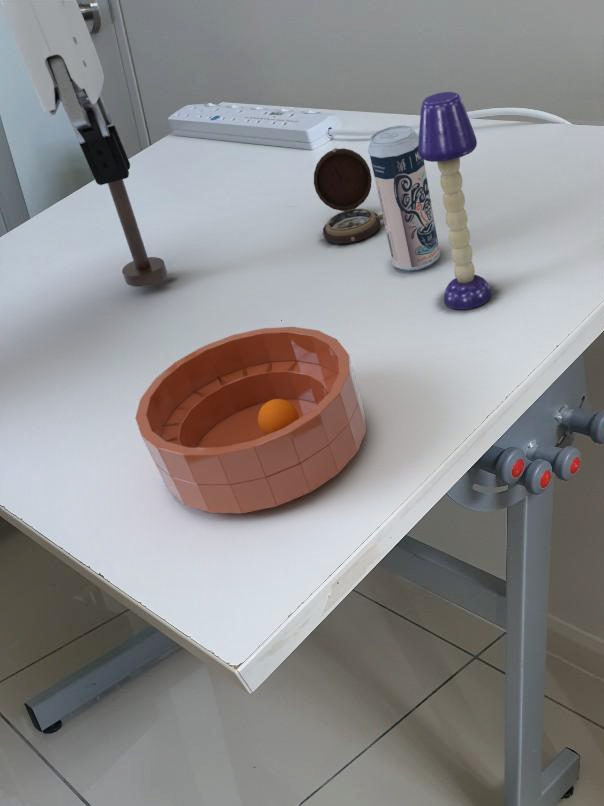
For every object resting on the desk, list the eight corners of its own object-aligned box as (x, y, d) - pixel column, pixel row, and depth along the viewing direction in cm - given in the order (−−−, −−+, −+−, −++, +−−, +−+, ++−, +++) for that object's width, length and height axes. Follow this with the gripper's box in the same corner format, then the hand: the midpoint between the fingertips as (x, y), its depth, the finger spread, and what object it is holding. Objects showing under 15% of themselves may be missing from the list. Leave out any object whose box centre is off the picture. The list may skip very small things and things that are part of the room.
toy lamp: (443, 288, 79) (409, 94, 68) (494, 279, 79) (468, 81, 68) (445, 314, 76) (409, 114, 65) (498, 305, 75) (471, 101, 64)
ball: (298, 444, 64) (257, 442, 63) (296, 436, 67) (256, 433, 66) (301, 404, 63) (259, 401, 63) (298, 397, 66) (258, 394, 65)
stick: (122, 289, 90) (64, 125, 79) (129, 270, 93) (75, 110, 82) (164, 283, 90) (112, 119, 79) (170, 265, 93) (121, 104, 82)
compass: (325, 251, 90) (306, 181, 85) (324, 220, 96) (306, 153, 91) (401, 234, 89) (386, 162, 85) (395, 204, 95) (381, 135, 90)
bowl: (155, 540, 61) (120, 474, 57) (179, 414, 72) (152, 352, 68) (373, 496, 60) (353, 426, 56) (363, 375, 71) (345, 309, 67)
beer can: (426, 275, 82) (402, 145, 74) (383, 272, 84) (355, 145, 76) (449, 251, 84) (428, 123, 76) (407, 248, 87) (382, 123, 79)
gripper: (-6, -48, 78) (84, 160, 90) (-41, -17, 66) (69, 217, 78) (75, -70, 78) (154, 141, 90) (55, -43, 66) (149, 195, 79)
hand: (114, 175), depth 84 cm, fingers closed on stick, 1 cm apart
